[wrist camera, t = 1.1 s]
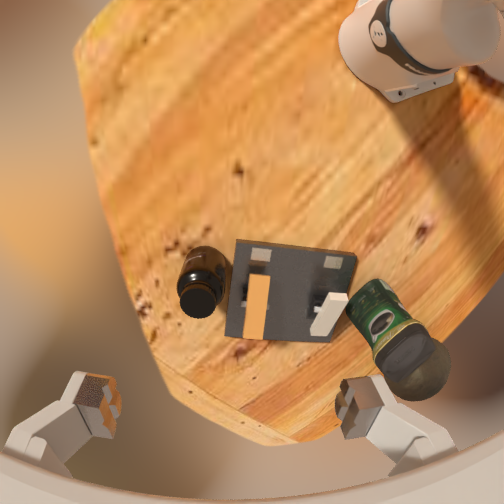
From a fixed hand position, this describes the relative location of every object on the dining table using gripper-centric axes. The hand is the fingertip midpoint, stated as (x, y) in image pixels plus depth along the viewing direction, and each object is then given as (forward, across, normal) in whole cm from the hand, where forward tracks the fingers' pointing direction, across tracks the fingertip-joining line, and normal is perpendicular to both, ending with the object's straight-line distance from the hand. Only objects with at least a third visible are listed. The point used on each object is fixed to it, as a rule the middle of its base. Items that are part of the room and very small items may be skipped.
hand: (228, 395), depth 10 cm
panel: (+38, -11, +18) cm, 44 cm away
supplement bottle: (+39, +3, +12) cm, 41 cm away
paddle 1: (+34, -5, +17) cm, 39 cm away
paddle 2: (+34, -17, +18) cm, 42 cm away
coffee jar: (+39, -27, +19) cm, 51 cm away
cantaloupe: (+38, -39, +31) cm, 63 cm away
